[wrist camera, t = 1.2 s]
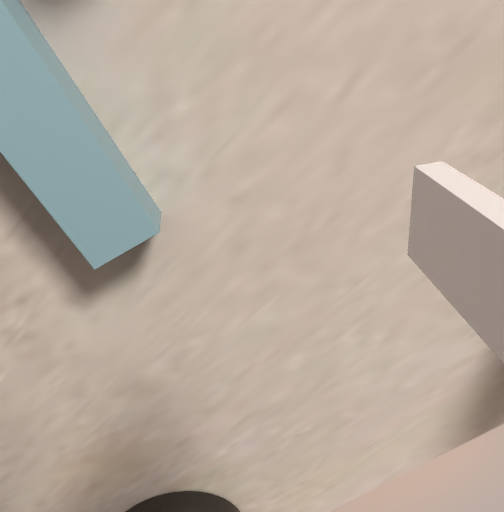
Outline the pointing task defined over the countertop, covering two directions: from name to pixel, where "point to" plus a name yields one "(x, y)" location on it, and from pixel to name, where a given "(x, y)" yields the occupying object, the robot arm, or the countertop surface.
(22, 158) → the bar
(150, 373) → the countertop surface
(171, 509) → the robot arm
